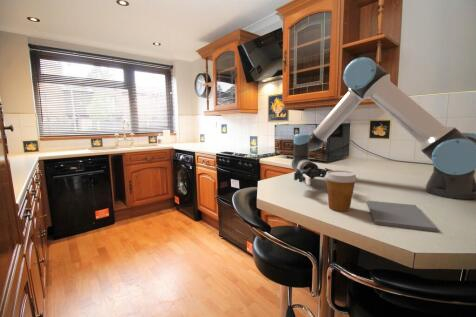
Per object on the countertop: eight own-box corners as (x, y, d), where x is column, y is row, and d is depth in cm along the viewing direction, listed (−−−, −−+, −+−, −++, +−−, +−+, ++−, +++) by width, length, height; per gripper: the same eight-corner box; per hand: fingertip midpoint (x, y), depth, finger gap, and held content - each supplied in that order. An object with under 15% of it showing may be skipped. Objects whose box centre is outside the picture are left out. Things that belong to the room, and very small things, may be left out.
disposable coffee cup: (353, 204, 81) (354, 170, 79) (357, 215, 72) (359, 177, 71) (323, 202, 84) (324, 169, 83) (324, 212, 75) (325, 175, 74)
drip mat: (415, 207, 77) (415, 205, 77) (436, 231, 61) (437, 228, 60) (366, 203, 82) (366, 200, 82) (374, 224, 66) (374, 220, 66)
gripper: (334, 176, 109) (359, 189, 88) (280, 178, 108) (293, 191, 87) (334, 160, 108) (361, 169, 87) (280, 162, 106) (294, 171, 86)
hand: (327, 180), depth 87 cm, fingers open, 13 cm apart
